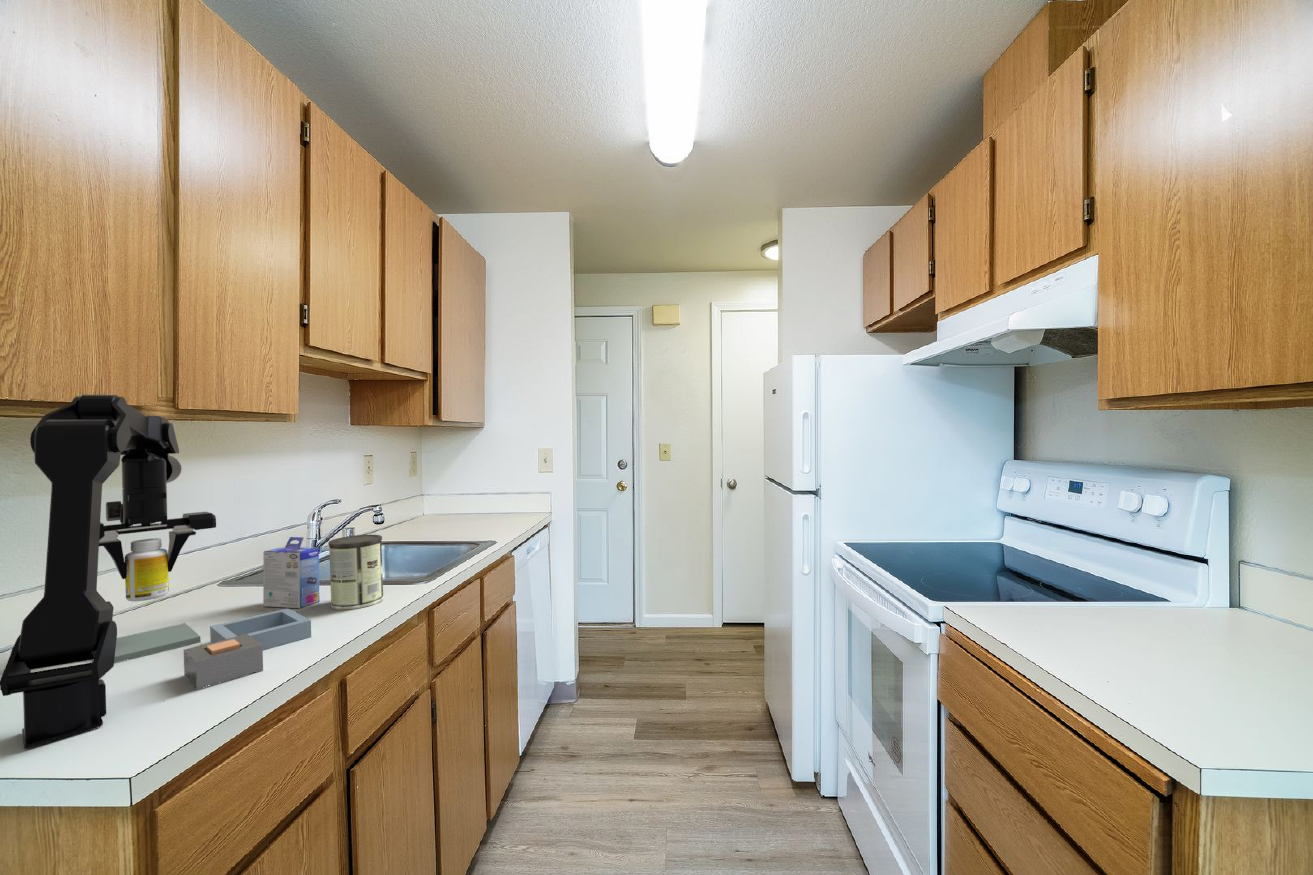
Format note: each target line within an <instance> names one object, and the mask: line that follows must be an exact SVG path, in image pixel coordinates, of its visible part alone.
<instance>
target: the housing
mask: <svg viewBox="0 0 1313 875" xmlns="http://www.w3.org/2000/svg"><path fill="white" fill-rule="evenodd" d="M209 633H210V634H209V637H210V640H209V641H210V643H212V642H217V641H221V640H225V639H229V638H233V637H237V636H241V635H245V634H248V635H249V636H251V637H252V638H254V639H255V640H256V641H258V642H259V643H261V644H262V645H263V651H264V650H267V649H268V650H269V649H271V648H274V647H275V646H276V647H280V646H282V645H286V644H290V643H294V642H298V641H300V640H305V639H309V638H312V620H311V619H309V618H307V617H305V616H304V615H301V614H300V613H297V612H296V611H294V610H292V609H290V608H287V607H286V608H283V609H280V610H279V609H278V610H274V611H270V612H266V613H261V614H257V615H252V616H248V617H243V618H239V619H234V620H231V621H225V622H222V623H218V624H214V625H210V626H209Z"/></svg>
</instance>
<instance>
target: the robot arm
mask: <svg viewBox="0 0 1313 875" xmlns="http://www.w3.org/2000/svg"><path fill="white" fill-rule="evenodd" d="M175 431H176V430H175V427H174V426H173V423H172V422H169V419H168V418H167V417H165V416H160V415H146V414H144V413H142V412H140V411H139V410H137V409H136V408H135V407H134V406H131V405H130V404H128V403H127V400H126V398H125V397H124V396H119V395H117V394H82V395H77V396H75V397H73V399H72V400H71V402H70V403H68V404H67V405H65V406H62V407H59V408H57V409H55V410H53V411H50V412H48V413H46V414H45V415H43V416H42V418H41V419H40V420H39V422H38V423H37V424H36V426H35V427H34V428H33V430H32V431H31V433H30V438H29V441H30V447H31V448H30V449H31V450H32V452H33V454H34V464H35V465H36V466H37V467H38V468H39V469H40V471H41V472H42V473H43V475H44V476H46V478H47V480H49V481H50V482H51V490H50V504H49V505H50V506H49V521H48V534H47V550H46V562H45V563H46V564H45V575H44V576H45V577H44V578H45V579H44V590H43V591H44V592H43V597H42V598H41V599H40V601H39V602H38V603H37V604H36V605H35V606H34V607H33V609H31V611H29V613H28V614H27V616H25V617H24V619H23V621H22V624H21V631H20V634H19V635H18V637H17V639H16V640H15V643H14V644H13V646H12V649H11V651H10V655H9V658H8V660H7V662H6V664H5V667H4V670H3V672H2V674H1V677H0V691H1V694H2V696H3V697H5V696H11V695H13V694H19V693H22V700H23V701H22V702H23V704H22V706H23V711H22V712H23V728H21V729H22V730H21V732H22V733H21V734H22V735H21V736H22V743H23V749H25V750H26V749H31V748H35V747H37V746H40V745H44V744H47V743H50V742H53V741H57V740H60V739H64V738H66V737H70V736H73V735H76V734H80V733H83V732H86V731H90V730H93V729H96V728H99V727H101V726H103V725H104V720H103V717H105V716H106V715H107V692H106V691H107V690H106V689H107V688H106V685H107V684H106V683H105V681H104V679H102V678H103V677H104V676H105V675H106V674H107V673H109V671H110V670H112V669H113V668H114V666H115V663H114V659H115V649H116V640H117V638H118V626H117V623H116V621H114V620H113V619H114V618H113V615H114V609H115V608H114V605H113V604H112V602H111V601H106V600H105V598H104V597H103V596H102V594H100V593H99V592H98V589H97V588H98V587H97V586H98V570H99V553H100V552H99V551H100V550H99V549H100V547H103V548H104V549H105V550H106V552H107V553H108V555H109V556H110V557H111V559H112V561H113V563H114V565H115V567H116V569H117V572H118V573H119V575H120V578H121V579H122V580H125V579H126V567H125V555H124V551H123V546H122V541H121V540H120V539H119V538H118V537H119V535H127V534H128V535H129V534H135V533H144V532H154V531H163V530H171V531H168V540H169V541H168V549H167V553H168V573H171V572H172V571H173V569H174V566H175V564H176V562H177V559H178V557H179V554H180V553H181V550H182V549H183V547H184V545H185V544H186V542H187V541H188V539H189V537H190V536H195V535H196V534H197V531H199V530H206V529H207V530H208V529H214V528H217V517H216V515H215V514H214V513H212V512H209V511H199V512H198V511H197V512H188V513H187V512H185V513H183V514H182V517H178V518H177V517H175V518H168V491H167V488H168V487H167V484H168V483H172V482H173V481H175V480H177V479H178V478H179V477H180V475H181V473H182V465H181V463H180V461H179V460H178V459H177V458H176V457H174V456H172V455H173V454H175V455H176V454H179V453H180V448H179V444H178V439H177V437H176V436H177V435H176V432H175ZM121 456H122V458H121ZM120 462H121V464H120ZM120 465H121V481H122V482H121V485H122V486H121V487H122V490H121V491H122V494H121V495H122V501H119V500H118V501H117V500H116V501H106V503H105V518H106V522H115V521H119V522H120V523H116V524H115V523H114V524H107V525H106V524H105V525H104V523H103V522H101V515H102V514H101V512H102V496H103V494H102V493H103V484H104V483H105V482H106V481H107V480H108V479H109V477H111V476H112V475H113V473H114V472H115V471H116V470H117V469H118V467H119V466H120ZM89 661H92V662H89ZM83 662H84V663H83ZM85 662H88V663H85ZM76 663H82V664H76ZM72 664H76V665H72ZM64 665H67V666H64ZM59 666H63V667H59ZM51 667H55V668H51ZM56 667H57V668H56ZM46 668H51V669H46ZM41 669H44V670H41ZM33 670H34V671H33ZM35 670H38V671H35Z"/></svg>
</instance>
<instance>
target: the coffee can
mask: <svg viewBox="0 0 1313 875" xmlns="http://www.w3.org/2000/svg"><path fill="white" fill-rule="evenodd" d="M382 541H383V536H382V535H380V534H358V535H349V536H348V535H347V536H343V537H338V538H334V539H332V540H329V541H328V546H329V548H328V549H329V550H328V551H329V575H330V576H329V578H330V579H329V580H330V603H331V604H330V608H331V609H333V610H338V611H339V610H341V611H345V610H357V609H362V608H367V607H371V606H374V605H377V604H379V603H381V602H383V601H384V582H383V581H384V580H383V579H384V578H383V551H382V550H383V548H382V545H383V544H382Z"/></svg>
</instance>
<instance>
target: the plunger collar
mask: <svg viewBox="0 0 1313 875" xmlns="http://www.w3.org/2000/svg"><path fill="white" fill-rule="evenodd" d="M232 639H234V640H236V641H237V642H238V643H239V644H240V647H238V648H234V649H230V650H226V651H222V652H218V653H215V654H211V655H210V654H209V653H208V652H207V647H206V646H208V645H212V644H216V643H220V642H224V641H228V640H232ZM263 651H264V650H263V645H262V644H261V643H259V642H258V641H256V640H255V639H254V638H252V637H251V636H249V635H248V634H245V635H241V636H237V637H233V638H229V639H225V640H221V641H217V642H212V643H211V642H209V643H205V644H204V643H203V644H201V645H197V646H193V647H189V648H185V649H183V676H184V677H185V678H186V680H187V681H188V682H189V681H190V682H191V683H190V682H189V683H190V684H191V685H192V686H193V685H194V686H193V688H194V689H195V688H196V689H199V690H202V689H201V688H203V687H206V686H208V685H213V686H215V685H214V684H216V685H218V684H217V683H219V682H223V681H226V682H229V681H232V680H231V679H233V680H236V679H239V678H238V677H240V676H243V677H245V676H244V675H246V676H248V675H247V674H250V673H253V672H256V673H259V672H258V671H260V672H262V670H263V671H264V655H263V654H264V653H263ZM253 674H254V673H253ZM250 675H251V674H250ZM235 678H236V679H235ZM240 678H241V677H240ZM228 680H229V681H228ZM223 683H224V682H223ZM219 684H220V683H219ZM206 688H207V687H206ZM196 689H195V690H196ZM203 689H204V688H203Z"/></svg>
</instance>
